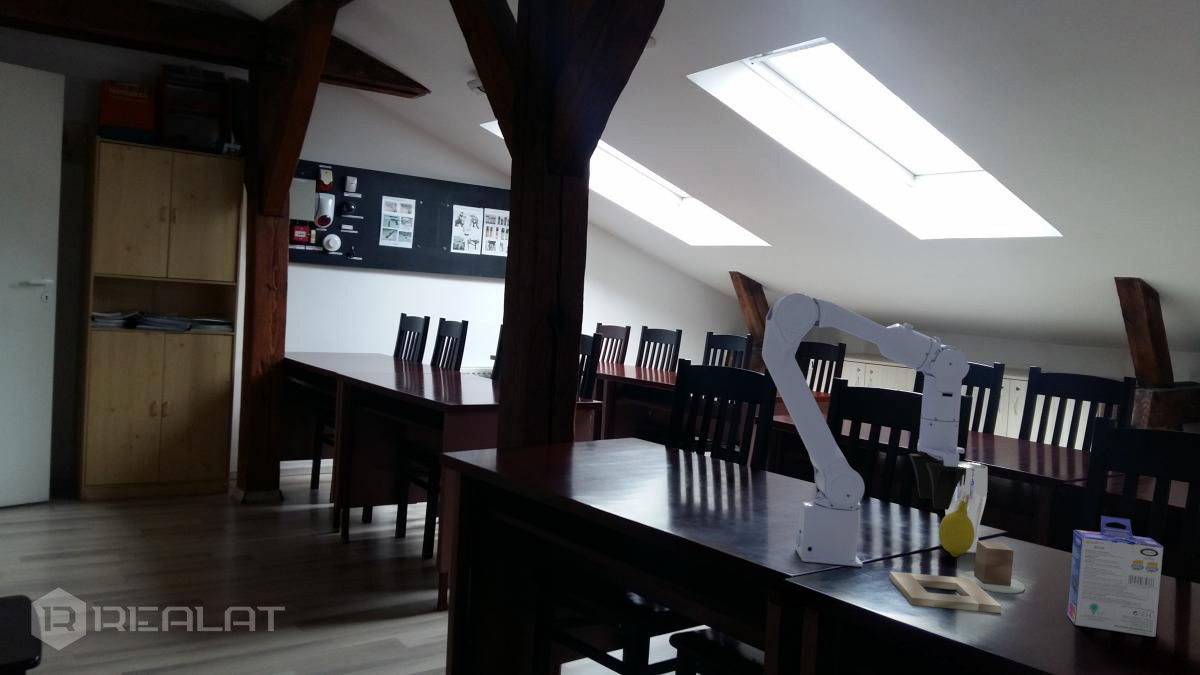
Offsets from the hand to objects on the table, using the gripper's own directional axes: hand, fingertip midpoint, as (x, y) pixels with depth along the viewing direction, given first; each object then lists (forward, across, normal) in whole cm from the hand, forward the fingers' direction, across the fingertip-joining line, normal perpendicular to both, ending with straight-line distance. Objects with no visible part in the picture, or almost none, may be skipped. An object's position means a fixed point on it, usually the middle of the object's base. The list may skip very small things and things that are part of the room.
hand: (933, 503), depth 138 cm
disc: (+10, -6, -8) cm, 14 cm away
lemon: (+11, +8, -7) cm, 15 cm away
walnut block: (+10, -6, -8) cm, 14 cm away
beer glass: (+11, +14, -10) cm, 20 cm away
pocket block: (+10, -14, +2) cm, 18 cm away
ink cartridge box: (+11, -21, -18) cm, 30 cm away
